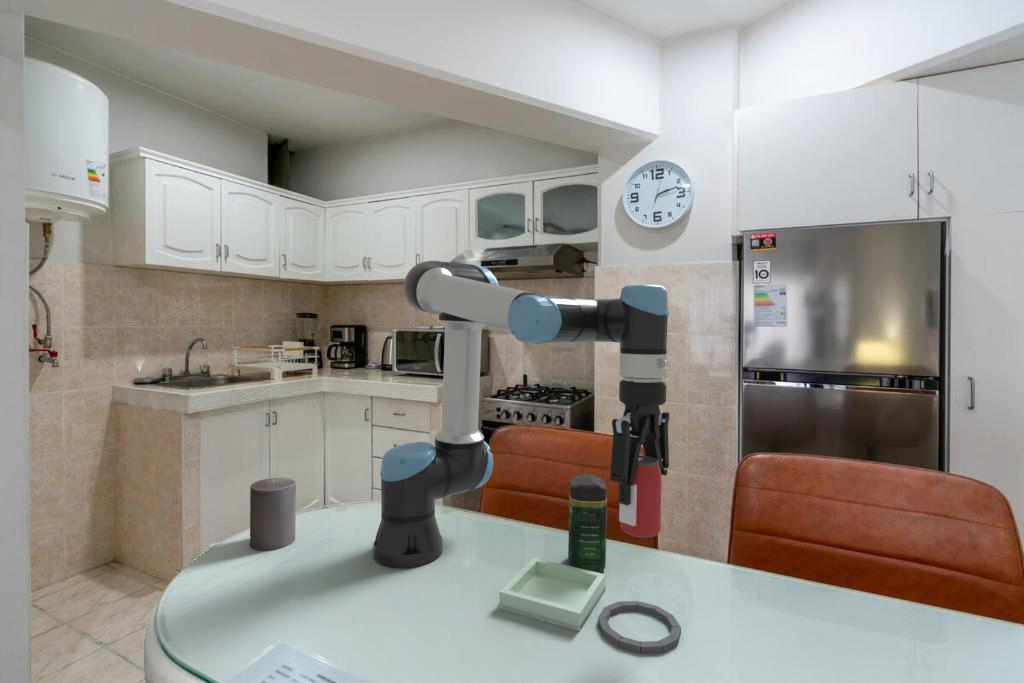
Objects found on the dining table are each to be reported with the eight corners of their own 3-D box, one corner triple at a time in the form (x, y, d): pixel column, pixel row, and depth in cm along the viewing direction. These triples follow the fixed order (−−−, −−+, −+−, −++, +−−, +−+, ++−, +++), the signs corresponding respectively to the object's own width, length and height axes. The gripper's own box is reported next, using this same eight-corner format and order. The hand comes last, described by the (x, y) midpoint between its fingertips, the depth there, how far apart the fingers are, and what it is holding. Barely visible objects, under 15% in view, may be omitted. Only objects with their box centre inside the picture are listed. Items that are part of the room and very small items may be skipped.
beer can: (611, 527, 86) (612, 457, 86) (640, 520, 89) (641, 452, 89) (639, 542, 80) (641, 466, 80) (669, 534, 84) (670, 461, 83)
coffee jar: (608, 576, 103) (609, 485, 102) (568, 574, 103) (569, 483, 103) (603, 554, 112) (604, 471, 112) (567, 553, 113) (568, 470, 113)
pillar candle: (239, 547, 115) (239, 481, 114) (271, 530, 124) (271, 470, 123) (275, 554, 112) (275, 486, 111) (305, 536, 121) (305, 474, 121)
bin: (499, 608, 91) (499, 591, 91) (533, 572, 104) (534, 557, 104) (579, 631, 84) (579, 613, 84) (605, 589, 97) (605, 574, 97)
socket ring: (589, 638, 82) (589, 632, 82) (611, 599, 94) (611, 594, 94) (672, 662, 76) (672, 656, 76) (685, 618, 88) (685, 612, 88)
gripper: (628, 385, 75) (625, 541, 75) (692, 377, 88) (689, 509, 89) (587, 381, 80) (585, 526, 81) (654, 374, 93) (651, 498, 94)
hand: (640, 517), depth 85 cm, fingers closed on beer can, 6 cm apart
